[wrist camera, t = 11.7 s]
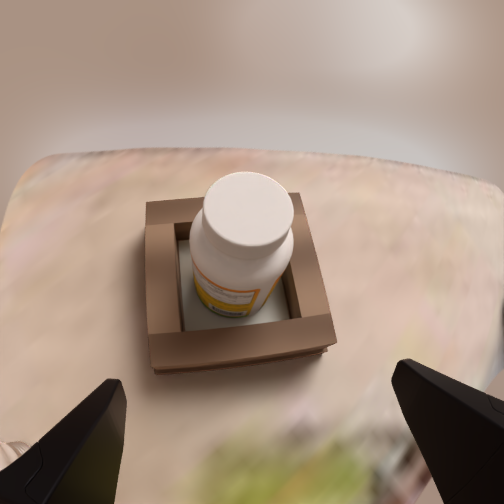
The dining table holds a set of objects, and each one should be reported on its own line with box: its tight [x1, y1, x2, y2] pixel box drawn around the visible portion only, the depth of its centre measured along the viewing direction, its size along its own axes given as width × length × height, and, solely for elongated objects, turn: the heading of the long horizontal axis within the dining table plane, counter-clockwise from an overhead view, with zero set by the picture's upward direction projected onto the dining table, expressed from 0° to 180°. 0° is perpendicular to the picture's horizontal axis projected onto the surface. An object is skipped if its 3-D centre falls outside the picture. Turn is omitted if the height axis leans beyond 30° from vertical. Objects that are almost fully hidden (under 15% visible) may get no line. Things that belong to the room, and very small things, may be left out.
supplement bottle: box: [189, 172, 294, 319], centre depth 17 cm, size 5×5×10 cm
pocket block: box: [145, 193, 337, 375], centre depth 21 cm, size 12×12×4 cm
